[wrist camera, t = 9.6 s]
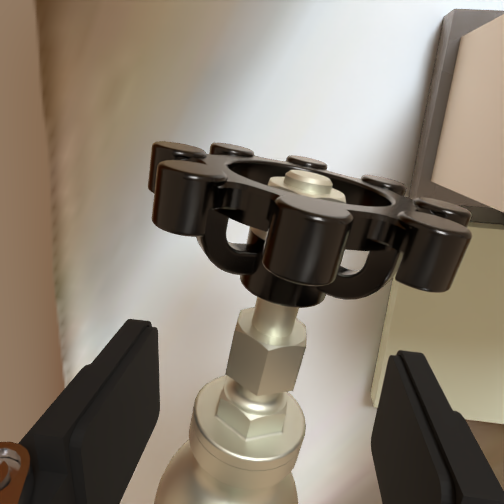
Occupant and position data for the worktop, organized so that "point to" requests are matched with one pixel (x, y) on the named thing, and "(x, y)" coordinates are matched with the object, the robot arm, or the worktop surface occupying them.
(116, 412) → the robot arm
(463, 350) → the pad
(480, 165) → the pump housing
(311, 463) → the worktop surface
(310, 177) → the valve
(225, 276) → the worktop surface
